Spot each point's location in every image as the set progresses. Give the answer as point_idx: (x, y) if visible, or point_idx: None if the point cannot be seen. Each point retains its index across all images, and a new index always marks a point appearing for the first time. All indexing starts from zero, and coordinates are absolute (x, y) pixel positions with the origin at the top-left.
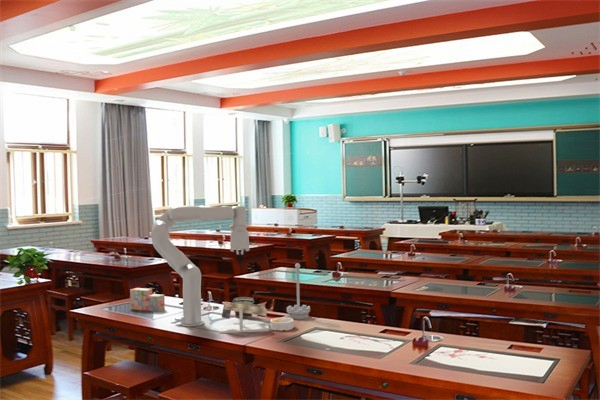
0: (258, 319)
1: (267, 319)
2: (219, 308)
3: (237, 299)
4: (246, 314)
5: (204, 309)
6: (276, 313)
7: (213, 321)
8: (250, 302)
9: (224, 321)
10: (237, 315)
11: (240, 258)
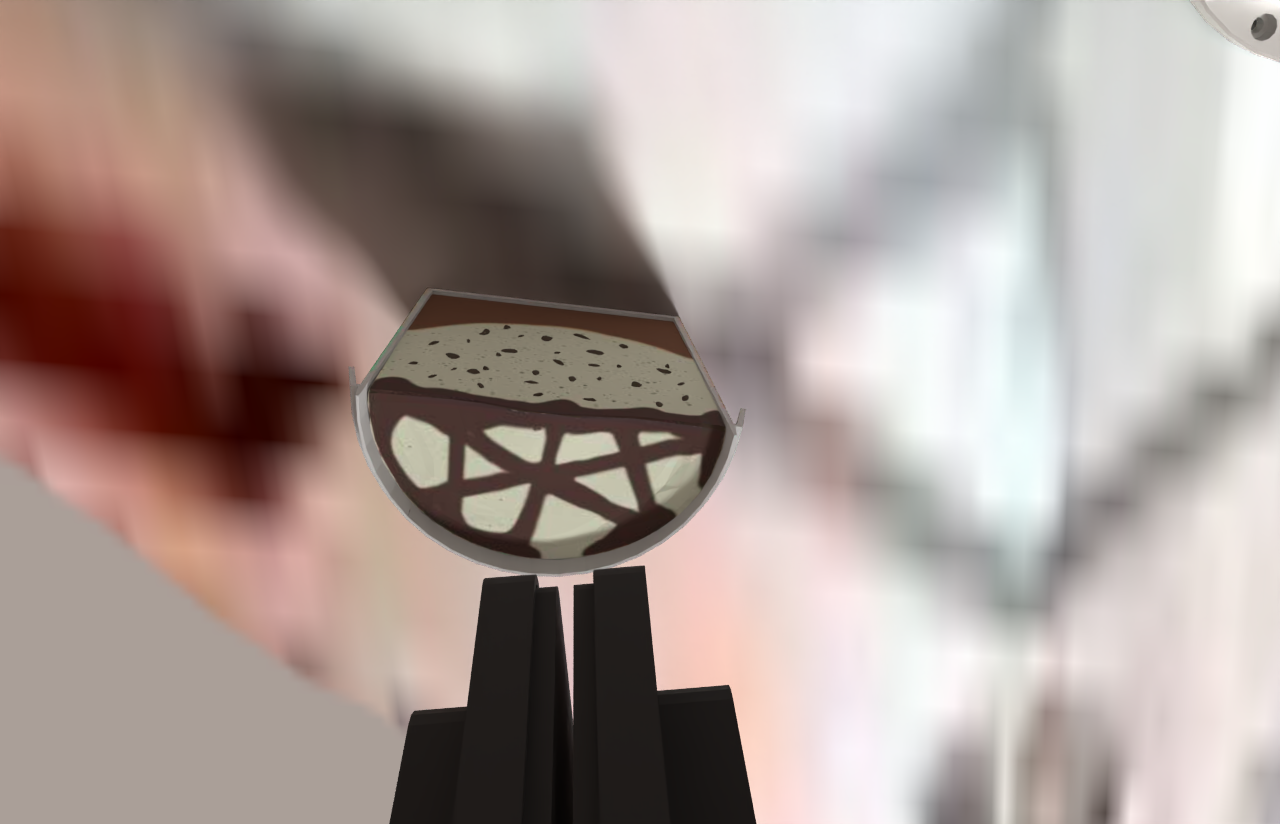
0: (295, 99)
1: (144, 84)
2: (916, 789)
3: (664, 497)
4: (507, 310)
5: (1110, 751)
6: (77, 467)
7: (1009, 30)
8: (417, 377)
9: (836, 12)
10: (648, 322)
11: (533, 695)
